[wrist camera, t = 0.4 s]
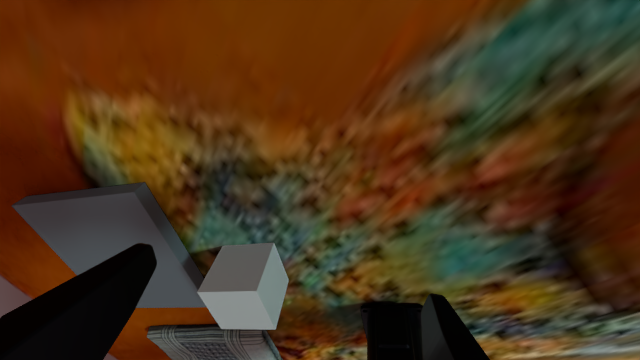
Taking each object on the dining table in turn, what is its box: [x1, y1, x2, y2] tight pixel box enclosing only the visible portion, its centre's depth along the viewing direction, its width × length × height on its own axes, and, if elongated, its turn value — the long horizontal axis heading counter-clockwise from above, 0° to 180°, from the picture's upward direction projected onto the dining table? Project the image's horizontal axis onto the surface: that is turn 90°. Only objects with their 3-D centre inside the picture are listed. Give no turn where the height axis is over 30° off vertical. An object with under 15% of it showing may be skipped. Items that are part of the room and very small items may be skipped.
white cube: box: [197, 243, 289, 330], centre depth 28 cm, size 6×6×6 cm
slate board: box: [12, 182, 206, 308], centre depth 31 cm, size 16×14×2 cm
